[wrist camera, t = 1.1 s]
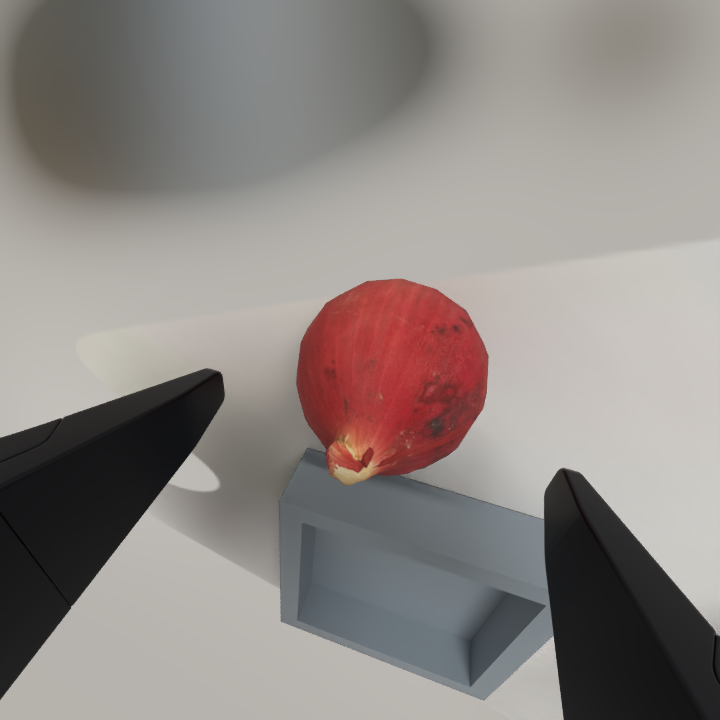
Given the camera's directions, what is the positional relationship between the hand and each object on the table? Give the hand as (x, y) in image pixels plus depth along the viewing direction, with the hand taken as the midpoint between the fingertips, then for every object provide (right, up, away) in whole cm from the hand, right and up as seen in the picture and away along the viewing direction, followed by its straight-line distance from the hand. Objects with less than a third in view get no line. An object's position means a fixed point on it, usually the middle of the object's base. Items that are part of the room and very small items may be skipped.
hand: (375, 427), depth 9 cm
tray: (+3, -11, +13) cm, 17 cm away
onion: (+2, +3, +5) cm, 6 cm away
